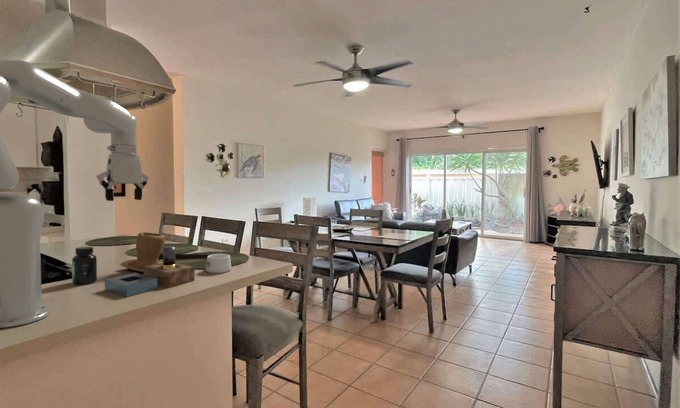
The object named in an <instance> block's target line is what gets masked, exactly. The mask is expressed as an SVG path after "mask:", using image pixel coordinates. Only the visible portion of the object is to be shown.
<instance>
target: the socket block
mask: <svg viewBox="0 0 680 408" xmlns="http://www.w3.org/2000/svg"><path fill="white" fill-rule="evenodd" d="M154 290H158V284H157V278H155V277H151V276H147V275H144V274H142V273H137V272H132V273H129V274H123V275H119V276H114V277H109V278H105V279H104V291H106V292H110V293H112V294H113V293H114V294H115V295H119V296H123V297H126V298H128V297H132V296H135V295H138V294H142V293H147V292H150V291H154Z"/></svg>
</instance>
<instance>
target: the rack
mask: <svg viewBox="0 0 680 408" xmlns="http://www.w3.org/2000/svg"><path fill="white" fill-rule="evenodd" d="M158 263H159V264H155V265H150V266H145V267H144V272H143V275H147V276H151V277H155V278H157V285H160V286H161V287H162V286H163V287H166V288H172V287H176V286H180V285H182V284H183V285H184V284H187V283H190V282H193V281H195V279H196V278H195V274H196V273H195V269H196V268H195V266H193V265H189V264H183V263H177V262H175V268H172V269H163V262H158Z"/></svg>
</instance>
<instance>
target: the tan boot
mask: <svg viewBox="0 0 680 408" xmlns="http://www.w3.org/2000/svg"><path fill="white" fill-rule="evenodd" d="M165 241H166V237H165V235H164V234H161V233H156V232H149V231H148V232H147V231H140V232H139V233H138V234H137V236H136V244H135V249H136V255H137V256H136V259H128V260H125V261H123V262H121V263H120V266H121V267H123V268H126V269H129V270H131V271H132V270H133V271H136V272H141V273H144V267H145V266H150V265H155V264H159V263H160V262H159V260H158V258H159V256H160V254H162V253H161V252H163V247H165V246H164V245H165V243H166V242H165Z"/></svg>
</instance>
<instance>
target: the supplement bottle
mask: <svg viewBox="0 0 680 408" xmlns="http://www.w3.org/2000/svg"><path fill="white" fill-rule="evenodd" d="M93 253H94V247H93V246H79V247H75V253H74V254H75V255H74V256H73V257H72V259H71V273H72V274H71V278H72V279H71V282H72V284H73V285H74V286H75V285H76V286H85V285H90V284H93V283H96V282H97V281H98V260H97V259H98V258H97V255H95V254H93Z"/></svg>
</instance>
